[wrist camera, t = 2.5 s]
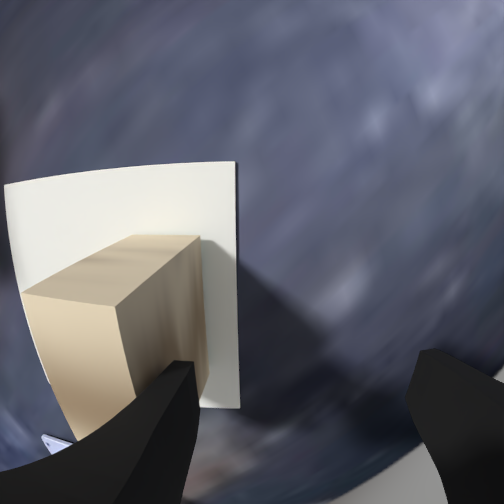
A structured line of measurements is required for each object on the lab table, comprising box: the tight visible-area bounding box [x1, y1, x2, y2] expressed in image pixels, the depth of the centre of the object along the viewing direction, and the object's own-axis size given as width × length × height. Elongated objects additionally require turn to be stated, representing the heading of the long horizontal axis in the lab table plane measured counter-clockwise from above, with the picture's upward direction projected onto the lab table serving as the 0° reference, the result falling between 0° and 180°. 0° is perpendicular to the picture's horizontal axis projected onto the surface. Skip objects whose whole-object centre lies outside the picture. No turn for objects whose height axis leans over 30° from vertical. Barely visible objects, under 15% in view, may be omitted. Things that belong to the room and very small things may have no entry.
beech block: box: [21, 235, 210, 441], centre depth 10 cm, size 7×3×7 cm, turn 0°
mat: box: [4, 161, 240, 408], centre depth 14 cm, size 13×13×1 cm
